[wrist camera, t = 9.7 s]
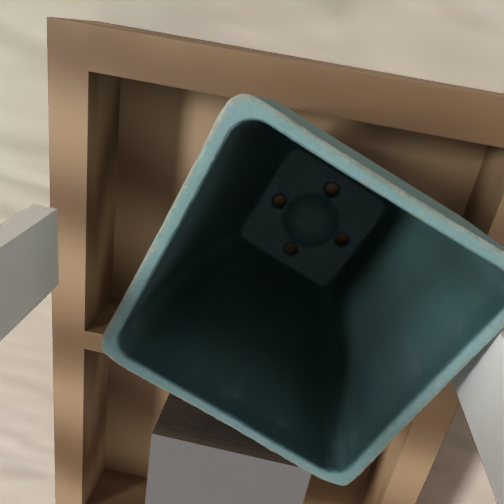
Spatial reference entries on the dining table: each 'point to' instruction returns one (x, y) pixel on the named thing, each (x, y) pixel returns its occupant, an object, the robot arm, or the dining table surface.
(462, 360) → the flower pot
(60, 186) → the wooden divided tray
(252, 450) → the grey metal block
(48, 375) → the dining table surface
